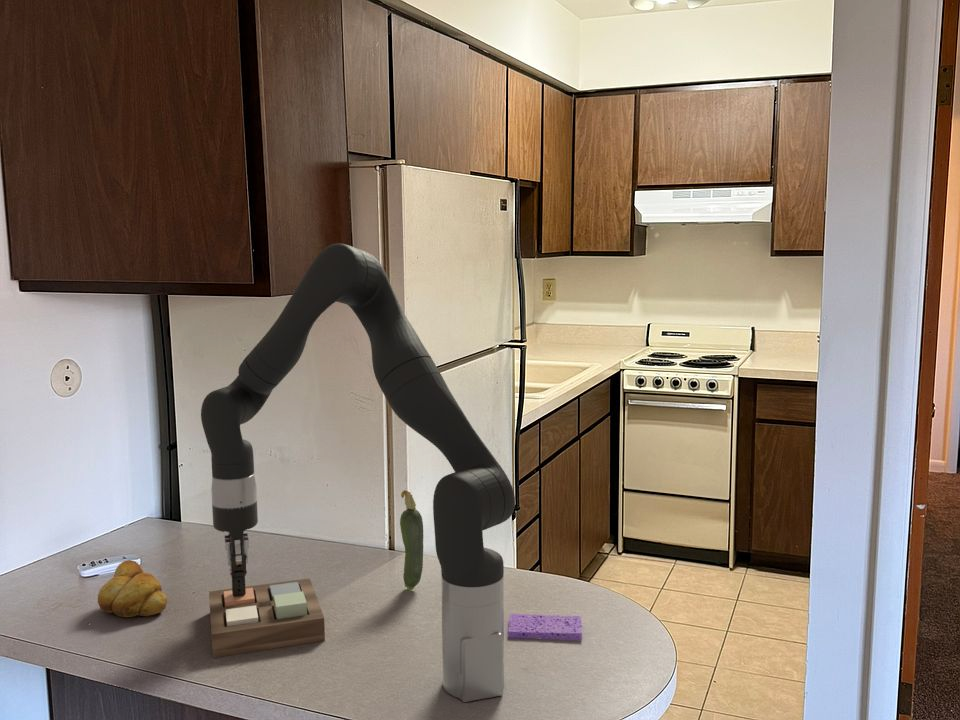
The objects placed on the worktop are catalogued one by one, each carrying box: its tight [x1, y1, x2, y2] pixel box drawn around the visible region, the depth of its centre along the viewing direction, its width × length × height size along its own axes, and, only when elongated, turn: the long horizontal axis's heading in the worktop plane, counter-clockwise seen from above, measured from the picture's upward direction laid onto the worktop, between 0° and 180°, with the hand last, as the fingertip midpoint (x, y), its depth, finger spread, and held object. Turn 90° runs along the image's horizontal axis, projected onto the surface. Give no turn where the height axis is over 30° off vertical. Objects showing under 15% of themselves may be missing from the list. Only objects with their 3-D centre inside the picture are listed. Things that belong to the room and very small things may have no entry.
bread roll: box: [97, 559, 168, 618], centre depth 155 cm, size 13×10×8 cm
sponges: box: [507, 612, 583, 641], centre depth 146 cm, size 7×13×2 cm, turn 84°
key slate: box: [270, 582, 301, 601], centre depth 153 cm, size 5×5×3 cm
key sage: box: [274, 591, 307, 619], centre depth 145 cm, size 5×5×3 cm
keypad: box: [208, 578, 326, 659], centre depth 148 cm, size 18×18×4 cm
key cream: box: [226, 605, 258, 627], centre depth 143 cm, size 5×5×3 cm
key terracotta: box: [224, 588, 255, 607], centre depth 151 cm, size 5×5×3 cm
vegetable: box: [399, 489, 424, 591], centre depth 162 cm, size 4×4×20 cm
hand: (239, 594), depth 151 cm, fingers closed
